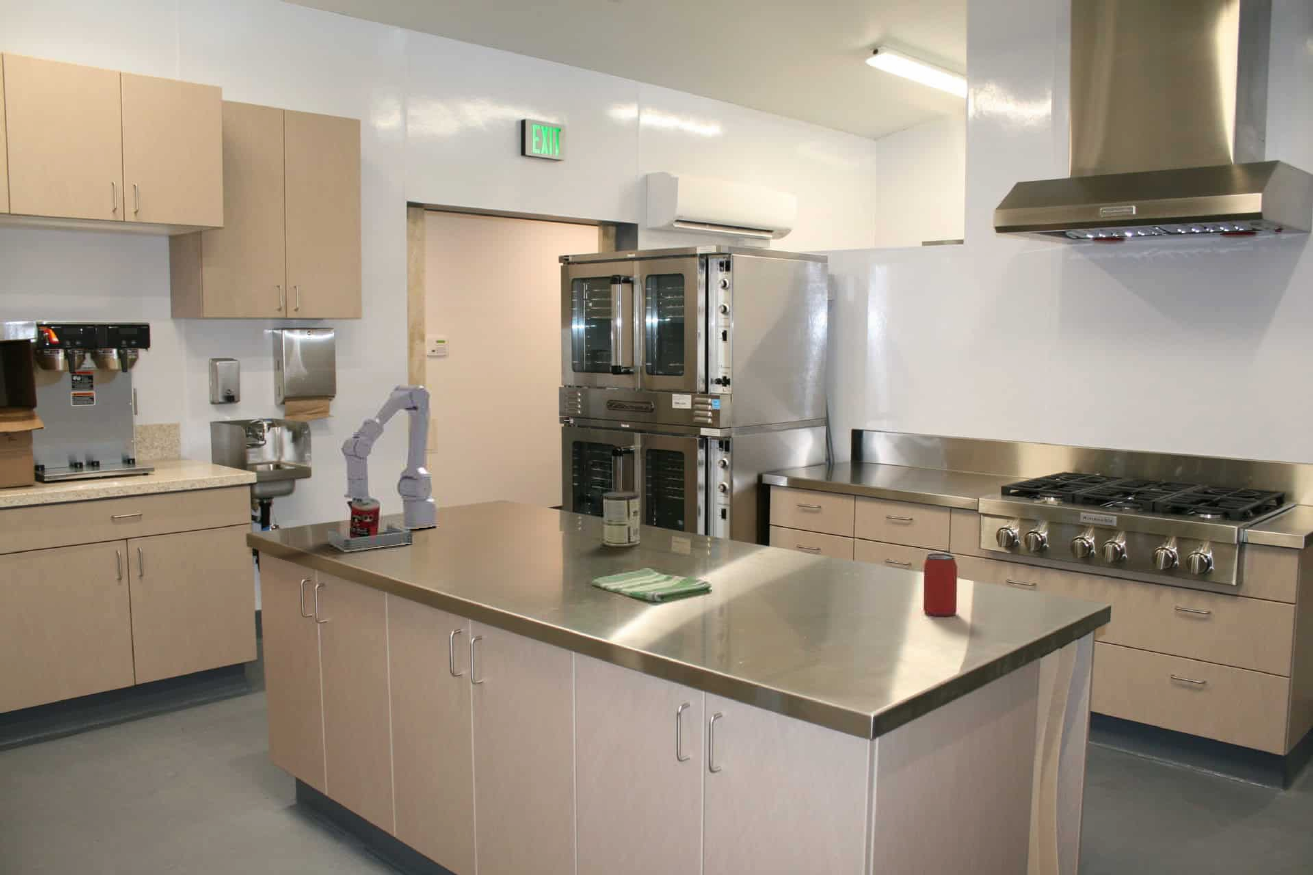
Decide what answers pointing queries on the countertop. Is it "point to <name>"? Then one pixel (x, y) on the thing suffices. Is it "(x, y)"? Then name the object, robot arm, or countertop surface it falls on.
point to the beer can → (940, 585)
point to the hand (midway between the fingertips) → (359, 524)
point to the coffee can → (621, 518)
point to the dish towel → (652, 585)
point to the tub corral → (372, 539)
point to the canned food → (364, 518)
